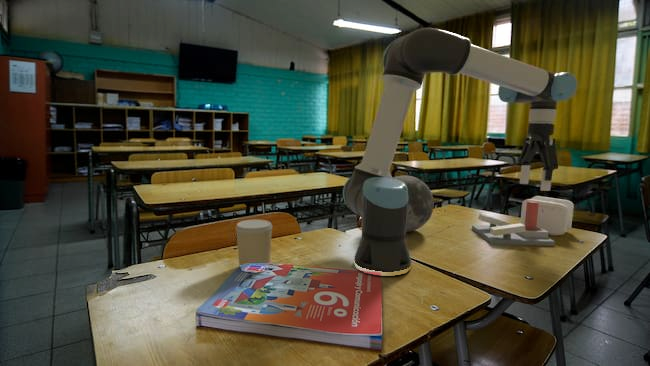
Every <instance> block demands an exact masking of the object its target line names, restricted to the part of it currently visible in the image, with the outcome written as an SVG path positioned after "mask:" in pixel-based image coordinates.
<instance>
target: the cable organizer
mask: <svg viewBox="0 0 650 366" xmlns="http://www.w3.org/2000/svg"><path fill="white" fill-rule="evenodd" d="M527 201H534V202H538V203H539V207H538V217H537V226H538V227H540V228H542V229H544V230H546V231H548V232H549V233H548V235H550V236H561V235H563V234H566V232H567V231H568V230H570V229H572V223H573V216H574V215H573V214H574V208H575V204H574V203H573V201H571V200H568V199H561V198H554V197H547V196H541V195H535V196H533V197H531V198H527V199H525V200H523V201H522V204H521V213H520V222H519V223H521V224H523V225H525V216H526V206H527Z"/></svg>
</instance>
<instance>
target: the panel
mask: <svg viewBox="0 0 650 366" xmlns="http://www.w3.org/2000/svg"><path fill="white" fill-rule="evenodd" d="M497 226H498V225H494V224H491V223H489V225H486V224H485V225H483V224H480V225H479V224H476V225H475V224H472V225H471V230H472V231H474V232H475V233H476V234H478V235H479V236H480V237H481V238H483V240H486V242H488V243H489V244H490V245H493V246H494V245H496V246H497V245H499V246H503V245H505V246H538V247H539V246H541V247H542V246H543V247H546V246H547V247H555V246H556V245H555V244H556V241H555V240H553V239H551V238H550V237H549V234H548V233H549V232H548V231H546V230H544V229H542V228H540V227H538V226H536V231H526V230H525V231H526V232H518V233H511V234H504V235H497V236H494V235H493V234H491V231H490V227H497Z"/></svg>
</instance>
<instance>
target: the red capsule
mask: <svg viewBox="0 0 650 366" xmlns="http://www.w3.org/2000/svg"><path fill="white" fill-rule="evenodd" d="M538 207H539V203H538V202H534V201H527V206H526V216H525V230H526V231H536V226H537V217H538Z"/></svg>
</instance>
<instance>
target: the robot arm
mask: <svg viewBox="0 0 650 366" xmlns="http://www.w3.org/2000/svg"><path fill="white" fill-rule="evenodd" d="M382 67H383V68H384V69H383V73H382V76H381V78H382V81H383V83H384V88H383V91H382V95H381V97H380V101H379V104H378V107H377V110H376V114H375V117H374V121H373V124H372V127H371V130H370V133H369V137H368V140H367V144H366V147H365V151H364V153H363V156H362V160H361V162H360V163H359V164H357V165H355V166H354V169H353V171H352V175H351V177H350V178H348V179H347V180H346V182H344V186H343V188H342V198H343V201H344V203H345V205H346V206H347V207H348V209H349V210H350V212H352V213H354V214H355V215H357V216H359V217H360V218H361V238H360V241H359V243H358V247H357V249H356V252H355V255H354V260H353V261H355V263H356V264H357V265H358V266H360V267H362V268H366V269H369V270H375V271H382V272H394V271H400V270H404V269H407V268H409V267H410V265H411V266H412V258H411V255H410V251H409V248H408V245H407V244H408V243H407V239H406V238H407V232H406V224H407V207H408V188H407V186H406V184H405V183H403V182H402V181H400V180H397V179H392V178H394V177H393V176H392V174H391V171H390V170H391V168H392V164H393V160H394V157H395V154H396V151H397V147H398V144H399V141H400V138H401V134H402V132H403V128H404V125H405V121H406V119H407V115H408V112H409V109H410V106H411V102H412V99H413V96H414V93H415V92H416V91H418V90H419V89H422V85H423V82H424V79H425V77H426V75H427V74H434V73H443V74H448V75H450V76H456V75H458V74H461V75H464V76H467V77H470V78H473V79H477V80H480V81H483V82H486V83H489V84H492V85H495V86H498V91H497V95H498V98H499V100H500V101H501V102H503V103H509V104H513V103H514V104H528V105H529V104H530V105H529V114H528V122H530V123H528V124H527V135H529V136H526V137H525V138H524V144H523V146H522V150H521V152H520V155H519V158H518V160H517V161H518V163H520V166H521V167H520V175H519V184H521V185H529V180H530V174H531V173H530V170H531V165H532V164H531V162H532V160H533V158H534V157H535V155H536V154H537V153H538V154H539V155H540V159H541V162H542V164H543V167H542V168H541V169H542V170H541V171H542V173H541V180H540V181H541V182H540V188H539V189H540V191H542V192H543V191H544V192H545V191H546V192H547V191H548V192H549V191H550V192H551V187H552V180H553V172H554V171H555V170H558V169H559V163H558V157H557V151H556V139H555V138H550V136H553V135H554V132H555V126H556V125H555V124H554V123H555V122H556V115H557V107H558V102H560V101H561V102H562V101H568V100H570V99H571V98H572V97H574V95H575V93H576V92H577V88H578V80H577V78H576V76H575V75H574V74H573V73H572V72H568V71H567V72H566V71H565V72H558V73H557V72H552V71H548V70H546V69H543V68H540V67H538V66H535V65H532V64H529V63H525V62H522V61H520V60H517V59H514V58H511V57H508V56H505V55H503V54H500V53H497V52H495V51H491V50H490V49H489V50H488V49H485V48H483V47H481V46H477V45H474V44H473V43H472V42H471V40H470V39H469V38H468V37H465V36H461V35H459V34H457V33H453V32H450V31H447V30H443V29H441V28H440V29H439V28H434V27H422V28H418V29H415V30H413V31H412V32H410V33H408V34H405V35H403V36H399V37H398V38H396V39H394V40H393V41H392V42H390V44H389V45H388V46H387V47H386V49H385V50H384V52H383V55H382ZM530 135H531V136H530Z"/></svg>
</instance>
